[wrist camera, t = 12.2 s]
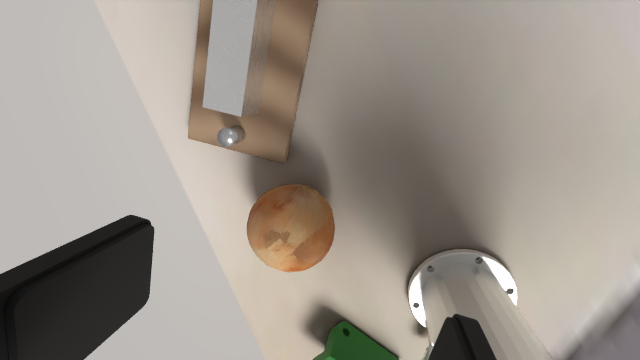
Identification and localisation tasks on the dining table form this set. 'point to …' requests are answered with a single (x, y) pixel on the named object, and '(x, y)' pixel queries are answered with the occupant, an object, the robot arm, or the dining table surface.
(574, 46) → the dining table surface
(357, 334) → the clamp
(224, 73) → the silver metal block
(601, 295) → the dining table surface
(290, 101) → the peg board
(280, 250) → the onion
